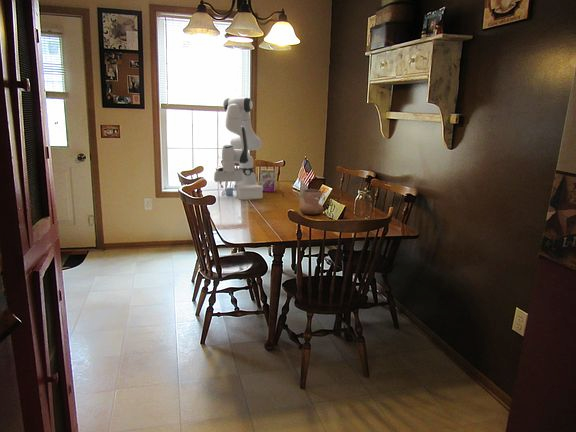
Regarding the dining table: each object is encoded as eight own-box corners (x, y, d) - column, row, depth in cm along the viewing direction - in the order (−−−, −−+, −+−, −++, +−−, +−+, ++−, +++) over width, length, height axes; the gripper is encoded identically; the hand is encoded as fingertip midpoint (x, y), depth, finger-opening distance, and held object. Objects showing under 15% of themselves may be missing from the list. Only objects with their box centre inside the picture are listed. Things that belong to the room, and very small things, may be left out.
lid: (235, 188, 311) (235, 185, 310) (258, 187, 316) (258, 184, 315) (239, 191, 299) (239, 188, 298) (263, 190, 303) (263, 187, 303)
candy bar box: (259, 191, 330) (259, 169, 326) (260, 190, 335) (260, 168, 331) (274, 192, 329) (274, 170, 325) (275, 190, 334) (275, 169, 330)
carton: (236, 196, 312) (236, 186, 311) (258, 195, 317) (258, 185, 315) (239, 200, 301) (239, 190, 300) (262, 198, 306) (262, 189, 304)
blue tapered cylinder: (225, 194, 319) (225, 187, 318) (232, 194, 320) (232, 187, 319) (226, 195, 314) (226, 188, 313) (233, 195, 316) (233, 188, 314)
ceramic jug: (328, 216, 262) (329, 192, 259) (305, 217, 258) (305, 193, 254) (316, 209, 279) (317, 187, 275) (294, 211, 274) (295, 188, 271)
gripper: (242, 167, 318) (242, 186, 321) (213, 168, 312) (213, 187, 315) (243, 168, 312) (243, 188, 315) (214, 169, 306) (215, 188, 310)
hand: (228, 187), depth 315 cm, fingers open, 8 cm apart
